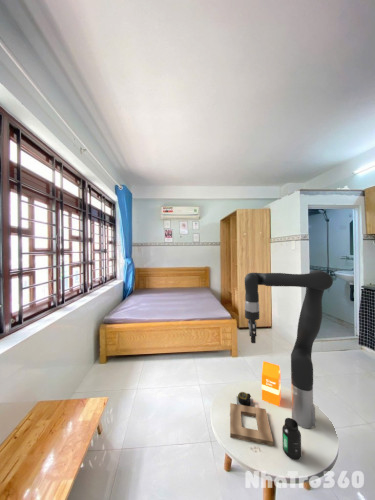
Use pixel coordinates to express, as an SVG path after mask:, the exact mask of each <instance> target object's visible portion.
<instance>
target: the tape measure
mask: <svg viewBox="0 0 375 500" xmlns="http://www.w3.org/2000/svg"><path fill="white" fill-rule="evenodd" d="M237 396H238V401H239V403H240V404H241V405H245V406H250V398H251V397H252V396H251V394H250V393H246V392H245V391H241V392H239V393H238V395H237Z"/></svg>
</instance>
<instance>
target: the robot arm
mask: <svg viewBox="0 0 375 500" xmlns="http://www.w3.org/2000/svg"><path fill="white" fill-rule="evenodd" d="M333 282H334V280H333V277H332V275H330V274H329V273H327V272H326V271H323V270H321V269H314V270H311V271H310V272H309V273H298V274H297V273H284V272H265V273H264V272H263V273H262V272H249V273H247V274H246V275H245V277H244V289H245V290H244V291H245V295H244V296H245V299H244V301H245V302H244V318H245V319H246V320H247V324H248V329H249V330H248V331H249V332H248V333H249V337H250V342H251V344H256V343H257V342H256V341H257V340H256V339H257V338H256V337H257V321H258V320H260V302H259V301H260V300H259V299H260V297H259V295H260V294H259V286H266V287H293V288H294V287H297V288H305V294H304V298H303V302H302V306H301V309H300V313H299V317H298V323H297V328H296V329H297V331H296V338H295V343H294V346H293V348H292V350H291V353H290V372H291V373H290V375H291V377H290V378H291V379H290V381H291V387H290V388H291V389H290V391H291V418H292V419H294V420H295V421H296V422H297V424H298V427H301V428H304V429H312V428H316V406H315V404H314V365H313V361H312V353H313V352H312V351H313V345H314V342H315V341H316V338H317V337H318V334H319V332H320V329H321V326H322V325H321V324H322V319H323V303H322V302H323V296H324V291H325V290H328V289H329V288H331V287H332V286H333Z"/></svg>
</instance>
